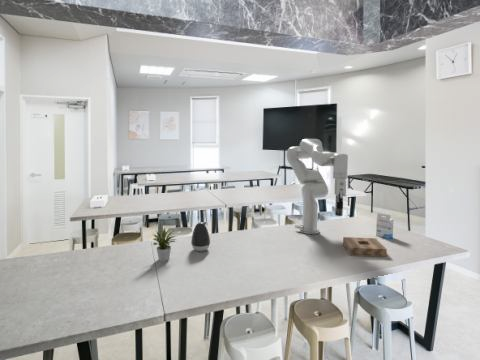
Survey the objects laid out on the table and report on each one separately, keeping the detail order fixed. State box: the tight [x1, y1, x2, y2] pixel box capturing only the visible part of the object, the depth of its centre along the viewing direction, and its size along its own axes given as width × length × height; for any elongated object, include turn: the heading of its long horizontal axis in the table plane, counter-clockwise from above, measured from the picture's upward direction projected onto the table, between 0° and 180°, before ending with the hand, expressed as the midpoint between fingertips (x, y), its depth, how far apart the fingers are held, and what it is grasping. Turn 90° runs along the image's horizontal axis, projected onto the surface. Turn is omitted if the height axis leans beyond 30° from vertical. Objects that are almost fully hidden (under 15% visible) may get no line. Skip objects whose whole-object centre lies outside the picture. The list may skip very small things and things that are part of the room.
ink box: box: [375, 212, 394, 240], centre depth 192 cm, size 8×5×15 cm, turn 39°
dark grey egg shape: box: [190, 221, 211, 252], centre depth 169 cm, size 10×10×15 cm
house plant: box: [153, 227, 177, 262], centre depth 154 cm, size 14×14×16 cm
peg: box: [334, 195, 344, 217], centre depth 176 cm, size 4×4×12 cm
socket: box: [342, 236, 388, 258], centre depth 169 cm, size 18×18×4 cm
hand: (339, 207), depth 176 cm, fingers closed on peg, 4 cm apart
